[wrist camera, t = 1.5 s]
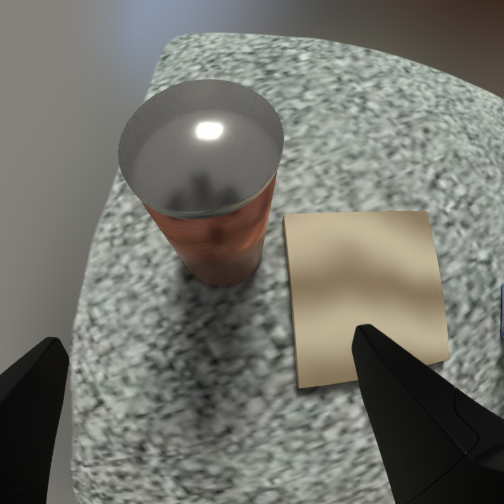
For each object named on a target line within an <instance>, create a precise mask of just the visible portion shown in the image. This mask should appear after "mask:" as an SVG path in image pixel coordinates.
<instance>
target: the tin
mask: <svg viewBox="0 0 504 504" xmlns="http://www.w3.org/2000/svg"><path fill="white" fill-rule="evenodd" d="M283 142H284V136H283V128H282V124H281V121H280V119H279V116H278V114H277V113H276V111H275V110H274V108H273V107H272V106H271V105H270V103H269V102H268V101H267V100H266V99H265V98H263V97H262V96H261V95H260V94H258V93H257V92H255V91H253V90H251V89H250V88H248V87H245V86H243V85H240V84H237V83H233V82H230V81H223V80H212V79H208V80H195V81H189V82H185V83H181V84H178V85H175V86H172V87H170V88H167V89H165V90H163V91H161V92H160V93H158V94H156V95H154V96H153V97H152V98H150V99H149V100H147V101H146V102H145V103H144V104H143V105H141V106H140V107H139V109H138V110H137V111H136V112H135V113H134V114H133V116H132V117H131V118H130V120H129V121H128V123H127V124H126V126H125V128H124V131H123V133H122V135H121V139H120V143H119V150H118V155H119V165H120V169H121V172H122V174H123V177H124V179H125V180H126V182H127V183H128V185H129V186H130V188H131V189H132V191H133V192H134V194H135V195H136V196H137V197H138V198H139V199H140V200H141V202H142V203H143V205H144V206H145V208H146V209H147V211H148V212H149V214H150V215H151V217H152V218H153V220H154V221H155V222H156V224H157V225H158V227H159V228H160V230H161V231H162V233H163V234H164V235H165V237H166V238H167V240H168V241H169V243H170V244H171V245H172V247H173V248H174V250H175V251H176V253H177V254H178V255H179V257H180V258H181V260H182V261H183V262H184V264H185V265H186V267H187V268H188V269H189V271H190V272H191V273H192V275H193V276H194V277H195V278H197V279H198V280H199V281H201V282H202V283H204V284H207V285H209V286H213V287H230V286H234V285H237V284H239V283H241V282H243V281H245V280H246V279H247V278H249V277H250V276H251V275H252V274H253V272H254V271H255V270H256V268H257V266H258V264H259V262H260V258H261V254H262V249H263V244H264V238H265V233H266V228H267V223H268V217H269V212H270V207H271V201H272V196H273V191H274V185H275V180H276V174H277V169H278V167H279V164H280V160H281V156H282V150H283Z"/></svg>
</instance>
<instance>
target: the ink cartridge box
mask: <svg viewBox="0 0 504 504" xmlns="http://www.w3.org/2000/svg"><path fill="white" fill-rule="evenodd" d="M501 336H502V337H503V338H504V283H503V284H502V322H501Z"/></svg>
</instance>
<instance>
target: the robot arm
mask: <svg viewBox="0 0 504 504" xmlns="http://www.w3.org/2000/svg"><path fill="white" fill-rule="evenodd" d="M351 350H352V355H353V360H354V364H355V369H356V373H357V378H358V382H359V387H360V391H361V395H362V399H363V402H364V405H365V408H366V411H367V414H368V417H369V420H370V423H371V426H372V429H373V432H374V435H375V438H376V441H377V444H378V447H379V450H380V453H381V457H382V460H383V463H384V466H385V470H386V473H387V476H388V480H389V483H390V486H391V490H392V493H393V497H394V500H395V504H504V419H502V418H501V417H499V416H497V415H496V414H494V413H493V412H491V411H489V410H488V409H486V408H485V407H483V406H481V405H480V404H478V403H477V402H475V401H474V400H473V399H471V398H470V397H468V396H467V395H466V394H464V393H463V392H462V391H460V390H459V389H458V388H455V387H454V385H452V384H451V383H450V382H448V381H447V380H446V379H444V378H443V377H442V376H440V375H439V374H438V373H436V372H435V371H434V370H432V369H431V368H430V367H428V366H427V365H426V364H424V363H423V362H422V361H420V360H419V359H418V358H416V357H415V356H414V355H412V354H411V353H410V352H408V351H407V350H405V349H404V348H403V347H401V346H400V345H399V344H397V343H396V342H395V341H393V340H392V339H391V338H389V337H388V336H387V335H385V334H384V333H383V332H381V331H380V330H378V329H377V328H376V327H374V326H373V325H372V324H361V325H358V326H357V327H356V329H355V333H354V337H353V341H352V346H351ZM68 367H69V356H68V354H67V352H66V350H65V348H64V347H63V344H62V343H61V341H60V339H58V338H57V337H47V338H45V339H44V340H43V341H41V342H40V343H39V344H38V345H36V346H35V347H34V348H32V349H31V350H30V351H29V352H27V353H26V354H25V355H24V356H23V357H21V358H20V359H19V360H18V361H17V362H15V363H14V364H13V365H11V366H10V367H9V368H8V369H7V370H6V371H4V372H3V373H2V374H1V375H0V504H46V500H47V491H48V483H49V475H50V468H51V462H52V456H53V450H54V444H55V438H56V434H57V429H58V424H59V419H60V415H61V410H62V405H63V400H64V393H65V385H66V379H67V373H68Z"/></svg>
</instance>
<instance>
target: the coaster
mask: <svg viewBox="0 0 504 504" xmlns="http://www.w3.org/2000/svg"><path fill="white" fill-rule="evenodd" d="M283 225H284V235H285V245H286V255H287V265H288V275H289V286H290V298H291V309H292V321H293V334H294V347H295V361H296V375H297V387H298V388H307V387H315V386H322V385H329V384H336V383H343V382H349V381H355V380H358V378H357V373H356V369H355V364H354V360H353V355H352V350H351V346H352V341H353V337H354V333H355V329H356V327H357V326H358V325H361V324H372V325H373V326H374V327H376V328H377V329H378V330H380V331H381V332H383V333H384V334H385V335H387V336H388V337H389V338H391V339H392V340H393V341H395V342H396V343H397V344H399V345H400V346H401V347H403V348H404V349H405V350H407V351H408V352H410V353H411V354H412V355H414V356H415V357H416V358H418V359H419V360H420V361H422V362H423V363H424V364H426V365H430V364H433V363H437V362H441V361H445V360H448V359H449V345H448V333H447V323H446V314H445V306H444V298H443V291H442V285H441V279H440V273H439V267H438V262H437V256H436V251H435V246H434V242H433V237H432V232H431V228H430V224H429V220H428V216H427V212H426V211H386V212H339V213H308V214H284V216H283Z"/></svg>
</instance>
